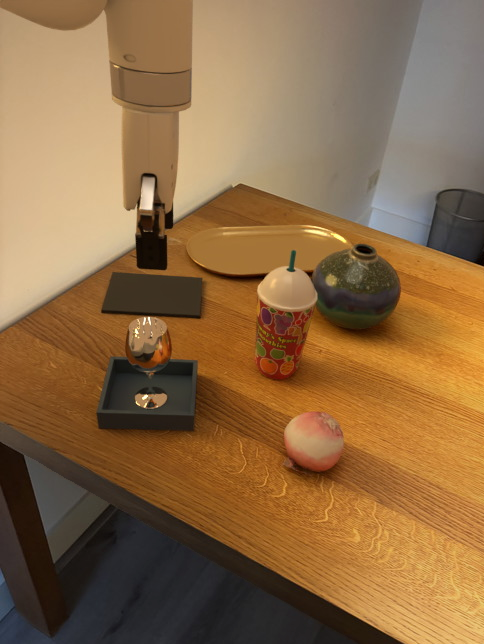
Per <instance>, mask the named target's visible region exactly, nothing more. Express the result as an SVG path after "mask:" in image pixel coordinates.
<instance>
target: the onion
mask: <svg viewBox="0 0 484 644" xmlns="http://www.w3.org/2000/svg"><path fill="white" fill-rule="evenodd" d="M344 437H345V436H344V431H343V429H342V427H341V425H340V423H339V421H338V420H337V419H335V418H334V417H333V416H332V415H331V414H329V413H327V412H326V411H314V410H313V411H306V412H304V413H300V414H299V415H296V416H295V417H294V418H292V419H291V420H290V421H289V422H288V424H286V426H285V428H284V431H283V443H284V447H285V450H286V455H287V458H285V460H284V461H283V462H282V466H284V467H287V468H290V469H292V470H293V471H296V472H299V474H300V473H301V474H305V475H307V476H309V477H312V474H310V473H308V471H310V472H317V473H318V472H319V473H320V472H325V471H329V470H330V469H331V468H333V467H334V466H335V465H336V464H337V463H338V462H339V460H340V458H341V457H342V455H343V452H344V449H345V438H344ZM296 465H298V466H300V467H302V468H303V469H305V470H307V471H301V470H298V469H297V468H298V467H297V466H296Z"/></svg>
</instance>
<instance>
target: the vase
mask: <svg viewBox="0 0 484 644" xmlns="http://www.w3.org/2000/svg"><path fill="white" fill-rule="evenodd" d="M377 252H378V251H377V249H376V248H375V247H374V246H372V245H370V244H367V243H366V244H365V243H355V244H353V247H352V249H345V250H340V251H337V252H334V253H332V254H330V255H328V256H326V257H325V258H324V259H322V260H321V261H320V262H319V264H318V265H317V266H316V268H315V270H314V272H313V273H311V274H312V275H311V278H310V279H311V281H312V283H313V285H314V288H315V290H316V292H317V301H316V304H315V308H316V310H317V312H318V313H319V314H320V316H321V317H323V318H324V319H325V320H327V322H329V323H331V324H333V325H335V326H337V327H339V328H342V329H347V330H358V331H360V330H367V329H372V328H374V327H377V326H380V324H382V323H383V322H385V321H386V320H387V319H388V318H390V317H391V315H392V314H393V313H394V311H395V310H396V308H397V307H398V304H399V301H400V299H401V295H402V294H401V293H402V285H401V280H400V277H399V274H398V273H397V271H396V269H395V267H393V265H391V263H390V262H388V260H386V259H385V258H384V257H382V256H380V255H379V254H377Z"/></svg>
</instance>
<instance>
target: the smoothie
mask: <svg viewBox="0 0 484 644" xmlns="http://www.w3.org/2000/svg"><path fill="white" fill-rule="evenodd" d="M295 256H296V251H295V250H292V251H291V256H290V263H289V266H282V267H278V268H276V269H274V270H272V271H271V272H270V273H269V274H268V275H267V276H264V279H262V281H260V283H259V284H258V285H257V289H256V294H257V297H256V299H257V300H256V324H255V325H256V326H255V348H254V349H255V351H254V352H255V354H254V362H255V365H256V367H257V369H258V371H259V372H260V374H261V375H263V376H264V377H266V378H269V379H271V380H278V381H279V380H285V379H288V378H290V377H291V376H292V375H294V373H295V372H296V371H297V370H298V369H299V367H300V362H301V359H302V355H303V353H304V348H305V344H306V342H307V337H308V334H309V330H310V326H311V322H312V319H313V316H314V315H313V314H314V311H315V308H316V307H315V304H316V301H317V292H316V290H315V288H314V285H313V283H312V281H311V278H310V276H309V275H308V273H305V272H304V271H302V270H301V269H299V268H296V267H294V263H295Z"/></svg>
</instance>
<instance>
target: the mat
mask: <svg viewBox="0 0 484 644" xmlns="http://www.w3.org/2000/svg"><path fill="white" fill-rule="evenodd" d="M203 280H204V279H203V277H198V276H183V275H179V276H178V275H167V274H151V273H150V274H149V273H137V272H136V273H134V272H133V273H132V272H121V271H112V273H111V276H110V280H109V283H108V286H107V289H106V293H105V296H104V299H103V302H102V306H101V309H100V311H101V313H102V314H116V315H117V314H119V315H137V316H151V317H174V318H190V319H191V318H192V319H201V310H202V294H203Z"/></svg>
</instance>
